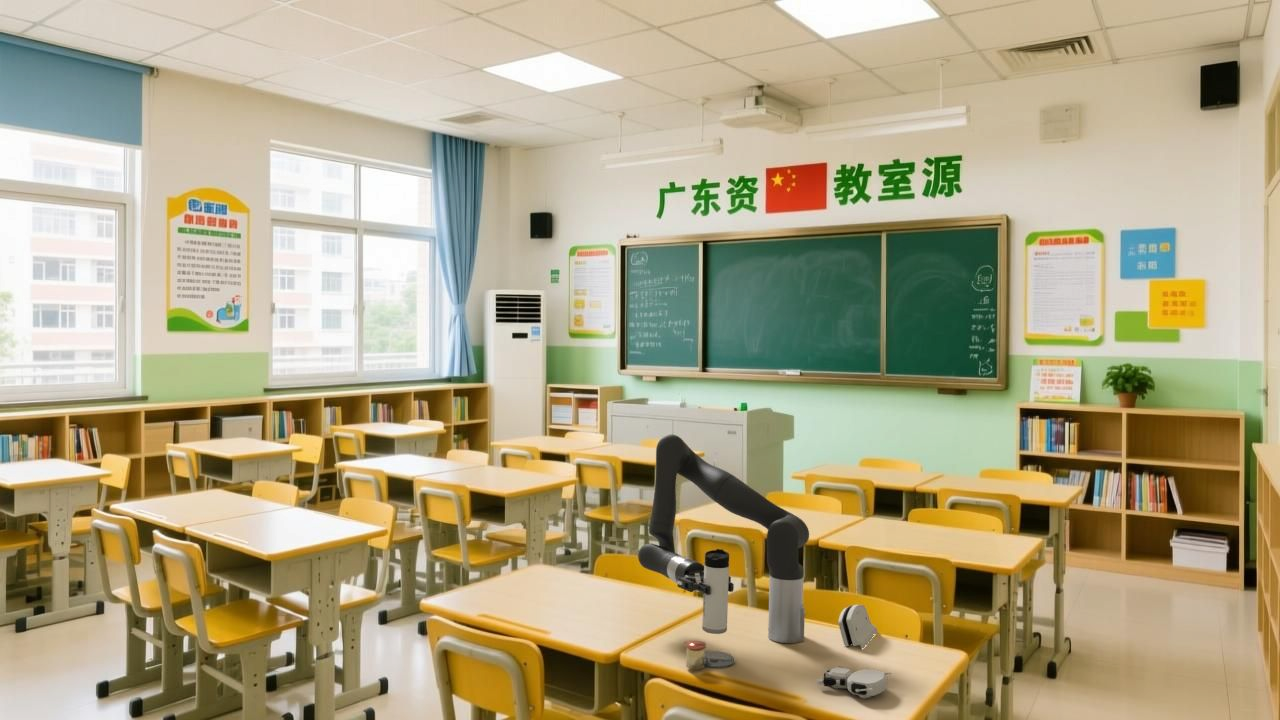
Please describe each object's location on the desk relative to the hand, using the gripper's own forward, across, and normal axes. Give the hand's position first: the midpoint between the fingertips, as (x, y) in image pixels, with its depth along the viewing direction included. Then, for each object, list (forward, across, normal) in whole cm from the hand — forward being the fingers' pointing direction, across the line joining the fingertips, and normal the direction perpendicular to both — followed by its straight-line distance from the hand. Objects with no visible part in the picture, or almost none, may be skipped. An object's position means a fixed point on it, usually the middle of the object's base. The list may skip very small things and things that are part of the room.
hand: (720, 589), depth 220 cm
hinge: (+1, +45, +19) cm, 49 cm away
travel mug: (-2, 0, +11) cm, 11 cm away
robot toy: (+28, +20, +19) cm, 39 cm away
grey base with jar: (-1, -2, +19) cm, 19 cm away
